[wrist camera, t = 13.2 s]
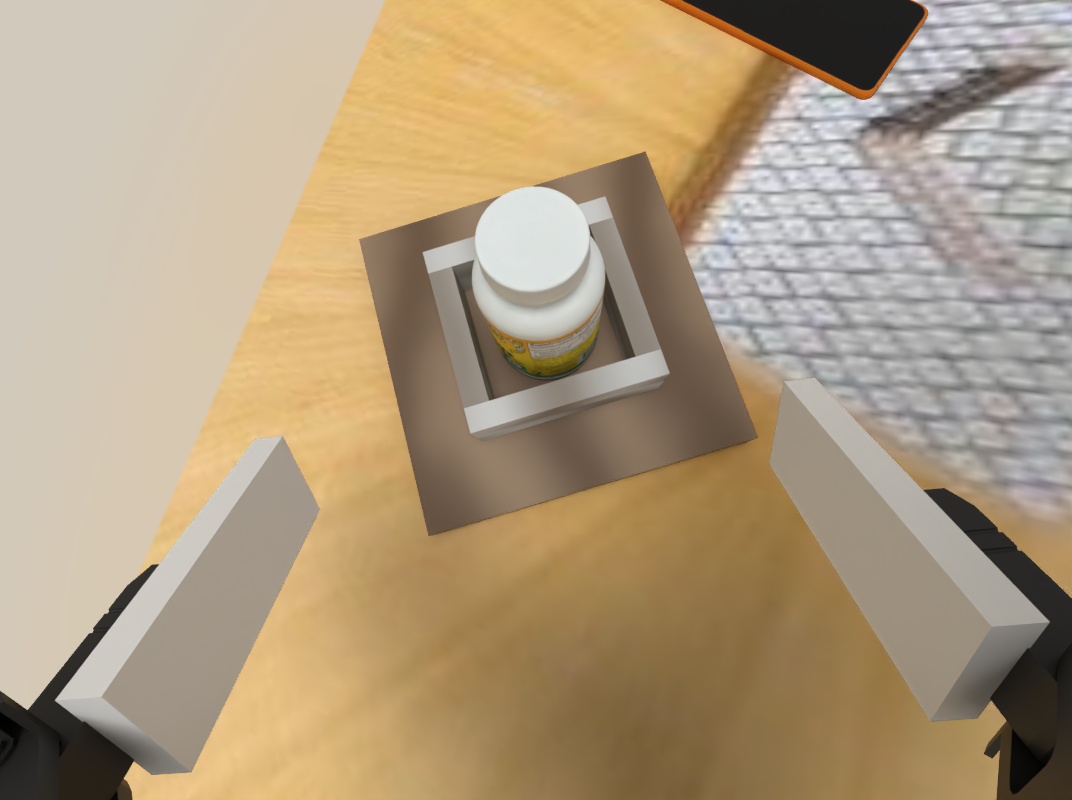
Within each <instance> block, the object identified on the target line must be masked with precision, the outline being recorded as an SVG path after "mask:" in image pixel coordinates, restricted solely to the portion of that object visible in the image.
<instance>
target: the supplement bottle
mask: <svg viewBox="0 0 1072 800" xmlns="http://www.w3.org/2000/svg"><path fill="white" fill-rule="evenodd" d="M475 251H476V257H475V260H474V263H473V268H472V287H473V293H474V296H475V299H476V302H477V304H478V307H479V309H480V311H481V313H482V315H483V317H484V319H485V321H486V323H487V325H488V327H489V329H490V331H491V333H492V336H493V338H494V339H495V341H496V344H497V346H498V348H499V350H500V352H501V353H502V355H503V356H504V358H505V359H506V360H507V362H508V363H509V364H511V365H512V366H513V367H514V368H516V369H517V370H519V371H520V372H522V373H523V374H525V375H527V376H530V377H533V378H537V379H555V378H560V377H563V376H566V375H568V374H570V373H572V372H574V371H575V370H577V369H578V368H579V367H580V366H582V365H583V364H584V363H585V362H586V360H587V359H588V358H589V356H590V355H591V353H592V351H593V349H594V347H595V344H596V341H597V336H598V331H599V324H600V316H601V309H602V302H603V295H604V288H605V266H604V261H603V257H602V255H601V252H600V250H599V248H598V246H597V244H596V242H595V241H594V239H593V238H592V237H591V236H590V230H589V225H588V222H587V219H586V217H585V215H584V213H583V212H582V210H581V209H580V207H579V206H578V205H577V204H576V203H575V202H574V201H573V200H572V199H571V198H569V197H568V196H566V195H565V194H563V193H561V192H559V191H556V190H554V189H550V188H545V187H535V186H532V187H523V188H519V189H516V190H513V191H510V192H508V193H506V194H504V195H502V196H500V197H499V198H498V199H496V200H495V201H494V202H493V203H491V204H490V205H489V206H488V208H487V209H486V210H485V211H484V213H483V214H482V216H481V218H480V220H479V222H478V225H477V228H476V233H475Z"/></svg>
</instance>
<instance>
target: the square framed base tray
mask: <svg viewBox="0 0 1072 800" xmlns="http://www.w3.org/2000/svg"><path fill="white" fill-rule="evenodd" d="M535 187H545V188H550V189H554V190H556V191H559V192H561V193H563V194H565V195H566V196H568V197H569V198H571V199H572V200H573V201H574V202H575V203H576V204H577V205H578V206H579V207H580V209H581V210H582V212H583V213H584V215H585V217H586V219H587V222H588V225H589V230H590V236H591V237H592V238H593V239H594V241H595V242H596V244H597V246H598V248H599V250H600V252H601V255H602V257H603V261H604V266H605V288H604V295H603V302H602V309H601V316H600V324H599V331H598V336H597V341H596V344H595V347H594V349H593V351H592V353H591V355H590V356H589V358H588V359H587V360H586V362H585V363H584V364H583V365H582V366H580V367H579V368H578V369H577V370H575V371H574V372H572V373H570V374H568V375H566V376H563V377H560V378H555V379H537V378H533V377H530V376H527V375H525V374H523V373H522V372H520V371H519V370H517V369H516V368H514V367H513V366H512V365H511V364H509V363H508V362H507V360H506V359H505V358H504V356H503V355H502V353H501V352H500V350H499V348H498V346H497V344H496V341H495V339H494V338H493V336H492V333H491V331H490V329H489V327H488V325H487V323H486V321H485V319H484V317H483V315H482V313H481V311H480V309H479V307H478V304H477V302H476V299H475V296H474V293H473V287H472V268H473V263H474V260H475V257H476V251H475V233H476V228H477V225H478V222H479V220H480V218H481V216H482V214H483V213H484V211H485V210H486V209H487V208H488V206H489V205H490V204H491V203H493V202H494V201H495V200H496V199H498V198H499V197H500V196H499V197H496V198H493V199H489V200H486V201H483V202H480V203H476V204H473V205H470V206H467V207H463V208H460V209H457V210H454V211H450V212H447V213H444V214H440V215H437V216H434V217H431V218H427V219H424V220H421V221H418V222H414V223H411V224H408V225H405V226H401V227H398V228H395V229H392V230H388V231H385V232H382V233H378V234H375V235H372V236H369V237H365V238H362V239H359V240H360V245H361V249H362V253H363V257H364V262H365V266H366V270H367V274H368V279H369V283H370V287H371V291H372V296H373V300H374V304H375V309H376V313H377V317H378V321H379V326H380V330H381V334H382V338H383V343H384V347H385V351H386V355H387V360H388V364H389V368H390V373H391V377H392V381H393V385H394V390H395V394H396V398H397V402H398V407H399V411H400V415H401V419H402V424H403V428H404V432H405V436H406V441H407V445H408V449H409V454H410V458H411V462H412V466H413V471H414V475H415V479H416V483H417V488H418V492H419V496H420V500H421V505H422V509H423V513H424V518H425V522H426V526H427V530H428V535H429V536H431V535H435V534H438V533H442V532H445V531H448V530H452V529H455V528H458V527H462V526H465V525H468V524H472V523H475V522H478V521H482V520H485V519H488V518H492V517H495V516H499V515H502V514H505V513H509V512H512V511H515V510H519V509H522V508H525V507H529V506H532V505H535V504H539V503H542V502H545V501H549V500H552V499H555V498H559V497H562V496H566V495H569V494H572V493H576V492H579V491H582V490H586V489H589V488H592V487H596V486H599V485H602V484H606V483H609V482H612V481H616V480H619V479H623V478H626V477H629V476H633V475H636V474H639V473H643V472H646V471H649V470H653V469H656V468H659V467H663V466H666V465H669V464H673V463H676V462H679V461H683V460H686V459H690V458H693V457H696V456H700V455H703V454H706V453H710V452H713V451H716V450H720V449H723V448H726V447H730V446H733V445H736V444H740V443H743V442H746V441H750V440H753V439H756V438H758V437H757V434H756V432H755V429H754V426H753V424H752V421H751V419H750V416H749V414H748V411H747V409H746V406H745V404H744V401H743V398H742V396H741V393H740V391H739V388H738V386H737V383H736V381H735V378H734V376H733V373H732V371H731V368H730V365H729V363H728V360H727V358H726V355H725V353H724V350H723V348H722V345H721V343H720V340H719V337H718V335H717V332H716V330H715V327H714V325H713V322H712V320H711V317H710V315H709V312H708V309H707V307H706V304H705V302H704V299H703V297H702V294H701V292H700V289H699V287H698V284H697V282H696V279H695V276H694V274H693V271H692V269H691V266H690V264H689V261H688V259H687V256H686V254H685V251H684V248H683V246H682V243H681V241H680V238H679V236H678V233H677V231H676V228H675V226H674V223H673V220H672V218H671V215H670V213H669V210H668V208H667V205H666V203H665V200H664V198H663V195H662V193H661V190H660V187H659V185H658V182H657V180H656V177H655V175H654V172H653V170H652V167H651V165H650V162H649V159H648V157H647V154H646V152H643V153H640V154H636V155H633V156H630V157H627V158H623V159H620V160H617V161H613V162H610V163H607V164H604V165H600V166H597V167H594V168H591V169H587V170H584V171H581V172H578V173H574V174H571V175H568V176H565V177H561V178H558V179H555V180H551V181H548V182H545V183H542V184H538V185H535Z"/></svg>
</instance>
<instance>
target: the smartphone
mask: <svg viewBox="0 0 1072 800" xmlns="http://www.w3.org/2000/svg"><path fill="white" fill-rule="evenodd" d="M661 1H663V2H665V3H667V4H669V5H671V6H673V7H675V8H677V9H679V10H681V11H683V12H685V13H687V14H689V15H691V16H694V17H696V18H698V19H700V20H702V21H704V22H706V23H708V24H710V25H712V26H714V27H716V28H718V29H720V30H722V31H724V32H726V33H728V34H730V35H732V36H734V37H736V38H738V39H740V40H742V41H744V42H746V43H748V44H750V45H752V46H754V47H756V48H758V49H760V50H762V51H764V52H766V53H768V54H770V55H772V56H774V57H776V58H778V59H780V60H782V61H784V62H786V63H788V64H790V65H792V66H794V67H796V68H798V69H800V70H802V71H804V72H806V73H808V74H810V75H812V76H814V77H816V78H818V79H820V80H822V81H824V82H826V83H828V84H830V85H832V86H834V87H836V88H838V89H840V90H842V91H844V92H846V93H848V94H850V95H852V96H854V97H856V98H858V99H862V100H865V99H869V98H871V97H872V96H873V95H874V93H875V92H876V91H877V89H878V88H879V86H880V85H881V83H882V82H883V81H884V79H885V78H886V76H887V75H888V73H889V72H890V70H891V69H892V68H893V66H894V65H895V63H896V62H897V60H898V59H899V57H900V56H901V54H902V53H903V51H904V50H905V49H906V47H907V46H908V45H909V43H910V42H911V40H912V39H913V37H914V36H915V34H916V33H917V32H918V30H919V29H920V27H921V26H922V24H923V23H924V21H925V20H926V18H927V16H928V10H927V9H926V8H925V7H924V6H923V5H921V4H919V3H917V2H915V1H913V0H661Z"/></svg>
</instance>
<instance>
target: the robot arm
mask: <svg viewBox="0 0 1072 800" xmlns="http://www.w3.org/2000/svg"><path fill="white" fill-rule="evenodd" d="M769 465H770V467H771V468H772V470H773V471H774V473H775V475H776V476H777V478H778V479H779V481H780V483H781V484H782V486H783V487H784V489H785V491H786V492H787V494H788V495H789V497H790V499H791V500H792V502H793V503H794V505H795V507H796V508H797V510H798V511H799V513H800V515H801V516H802V518H803V519H804V521H805V523H806V524H807V526H808V527H809V529H810V531H811V532H812V534H813V535H814V537H815V539H816V540H817V542H818V543H819V545H820V547H821V548H822V550H823V551H824V553H825V555H826V556H827V558H828V559H829V561H830V563H831V564H832V566H833V567H834V569H835V571H836V572H837V574H838V575H839V577H840V579H841V580H842V582H843V583H844V585H845V587H846V588H847V590H848V591H849V593H850V595H851V596H852V598H853V599H854V601H855V603H856V604H857V606H858V607H859V609H860V611H861V612H862V614H863V615H864V617H865V619H866V620H867V622H868V623H869V625H870V626H871V628H872V630H873V631H874V633H875V634H876V636H877V638H878V639H879V641H880V642H881V644H882V646H883V647H884V649H885V650H886V652H887V654H888V655H889V657H890V658H891V660H892V662H893V663H894V665H895V666H896V668H897V670H898V671H899V673H900V674H901V676H902V678H903V679H904V681H905V682H906V684H907V686H908V687H909V689H910V690H911V692H912V694H913V695H914V697H915V698H916V700H917V702H918V703H919V705H920V706H921V708H922V710H923V711H924V713H925V714H926V716H927V718H928V719H929V721H930V722H931V721H945V720H960V719H974V718H978V717H979V715H980V714H981V713H982V711H983V710H984V709H985V707H986V706H987V705H988V703H989V702H990V701H991V700H992V702H993V703H994V704H995V706H996V707H997V708H998V710H999V711H1000V712H1001V714H1002V715H1003V716H1004V718H1005V719H1006V720H1007V721H1006V722H1005V724H1004V725H1003V726H1002V727H1001V728H1000V730H999V731H998V732H997V733H996V734H995V736H994V737H993V738H992V739H991V741H990V742H989V743H988V745H987V747H986V750H985V752H984V754H985V755H987V756H989V757H991V758H993V757H994V756H995V755H996V754H997V752H998V751H999V750H1000V758H999V773H998V787H997V800H1072V598H1071V597H1070V596H1069V595H1068V594H1066V593H1065V592H1064V591H1063V590H1062V589H1061V588H1060V587H1059V586H1058V585H1057V584H1056V583H1055V582H1054V581H1053V580H1052V579H1051V578H1050V577H1049V576H1048V575H1047V574H1045V573H1044V572H1043V571H1042V570H1041V569H1040V568H1039V567H1038V566H1037V565H1036V564H1035V563H1034V562H1033V561H1032V560H1031V559H1030V558H1029V557H1028V556H1027V555H1026V554H1025V553H1023V552H1022V551H1018V550H1017V546H1016V545H1015V544H1014V543H1013V542H1012V541H1011V540H1010V539H1009V538H1008V537H1007V536H1006V535H1005V534H1004V533H1003V532H998V530H997V529H998V528H997V527H996V526H995V525H994V524H993V523H992V522H991V521H990V520H989V519H988V518H987V517H986V516H985V515H984V514H983V513H982V512H980V511H979V510H978V509H977V508H976V507H975V506H974V505H972V504H970V503H969V502H967V501H965V500H964V499H962V498H960V497H958V496H957V495H955V494H953V493H952V492H950V491H948V490H946V489H945V488H942V489H931V490H922V489H921V488H920V487H919V485H918V484H917V483H916V482H915V481H914V480H913V479H912V478H911V477H910V476H909V475H908V474H907V473H906V472H905V471H904V470H903V469H902V468H901V467H900V466H899V465H898V464H897V463H896V462H895V461H894V460H893V458H892V457H891V456H890V455H889V454H888V453H887V452H886V451H885V450H884V449H883V448H882V447H881V446H880V445H879V444H878V443H877V442H876V441H875V440H874V439H873V438H872V437H871V436H870V435H869V434H868V432H867V431H866V430H865V429H864V428H863V427H862V426H861V425H860V424H859V423H858V422H857V421H856V420H855V419H854V418H853V417H852V416H851V415H850V414H849V413H848V412H847V411H846V410H845V409H844V408H843V407H842V405H841V404H840V403H839V402H838V401H837V400H836V399H835V398H834V397H833V396H832V395H831V394H830V393H829V392H828V391H827V390H826V389H825V388H824V387H823V386H822V385H821V384H820V383H819V382H818V381H817V380H816V378H810V379H801V380H792V381H784V383H783V389H782V395H781V400H780V406H779V412H778V417H777V423H776V429H775V434H774V440H773V446H772V451H771V457H770V463H769ZM319 510H320V508H319V506H318V504H317V502H316V500H315V498H314V496H313V494H312V492H311V490H310V489H309V487H308V485H307V483H306V481H305V479H304V477H303V475H302V473H301V471H300V469H299V467H298V465H297V463H296V461H295V459H294V457H293V455H292V453H291V451H290V449H289V447H288V445H287V443H286V441H285V439H284V437H283V436H279V437H270V438H260V439H255V440H254V442H253V443H252V444H251V445H250V447H249V448H248V449H247V451H246V452H245V453H244V455H243V456H242V457H241V458H240V460H239V461H238V462H237V464H236V465H235V466H234V468H233V469H232V470H231V471H230V473H229V474H228V475H227V477H226V478H225V479H224V481H223V482H222V483H221V485H220V486H219V487H218V488H217V490H216V491H215V492H214V494H213V495H212V496H211V498H210V499H209V500H208V501H207V503H206V504H205V505H204V507H203V508H202V509H201V511H200V512H199V513H198V515H197V516H196V517H195V518H194V520H193V521H192V522H191V524H190V525H189V526H188V528H187V529H186V530H185V531H184V533H183V534H182V535H181V537H180V538H179V539H178V541H177V542H176V543H175V544H174V546H173V547H172V548H171V550H170V551H169V552H168V554H167V555H166V556H165V558H164V559H163V560H162V561H161V563H160V564H156V565H151V566H150V567H149V568H148V569H147V570H145V571H144V572H143V573H142V574H141V575H139V576H138V577H137V578H136V579H135V580H133V581H132V582H131V583H130V584H129V585H128V586H127V587H126V588H125V589H124V591H123V592H122V593H121V594H120V595H119V597H118V598H117V599H116V600H115V602H114V603H113V604H112V605H111V607H110V608H109V612H108V614H104V615H103V617H102V618H101V619H100V621H99V622H98V623H97V624H96V626H95V627H94V628H93V629H94V631H93V633H89V634H88V636H87V637H86V638H85V639H84V641H83V642H82V643H81V644H80V646H79V647H78V648H77V649H76V651H75V652H74V653H73V654H72V656H71V657H70V658H69V659H68V661H67V662H66V663H65V664H64V666H63V667H62V668H61V670H60V671H59V672H58V673H57V674H56V676H55V677H54V678H53V679H52V681H51V682H50V683H49V684H48V686H47V687H46V688H45V689H44V691H43V692H42V693H41V694H40V696H39V697H38V698H37V699H36V701H35V702H34V703H33V704H32V706H31V707H30V708H29V709H28V710H26V709H25V708H23V707H22V706H21V705H19V704H18V703H16V702H15V701H14V700H12V699H11V698H9V697H8V696H7V695H5V694H4V693H2V692H1V691H0V800H132V791H131V789H130V787H129V784H128V782H127V781H126V780H124V777H125V775H126V774H127V772H128V770H129V768H130V767H131V765H132V763H133V762H136V763H137V764H138V765H140V766H141V767H142V768H144V769H145V770H146V771H148V772H149V773H150V774H151V775H158V774H172V773H187V772H192V770H193V768H194V766H195V764H196V762H197V759H198V757H199V755H200V753H201V751H202V749H203V747H204V745H205V743H206V741H207V739H208V737H209V735H210V733H211V731H212V729H213V727H214V725H215V723H216V721H217V719H218V717H219V715H220V713H221V710H222V708H223V706H224V704H225V702H226V700H227V698H228V696H229V694H230V692H231V690H232V688H233V686H234V684H235V682H236V680H237V678H238V676H239V674H240V672H241V670H242V668H243V666H244V664H245V662H246V659H247V657H248V655H249V653H250V651H251V649H252V647H253V645H254V643H255V641H256V639H257V637H258V635H259V633H260V631H261V629H262V627H263V625H264V623H265V621H266V619H267V617H268V615H269V613H270V610H271V608H272V606H273V604H274V602H275V600H276V598H277V596H278V594H279V592H280V590H281V588H282V586H283V584H284V582H285V580H286V578H287V576H288V574H289V572H290V570H291V568H292V566H293V564H294V562H295V559H296V557H297V555H298V553H299V551H300V549H301V547H302V545H303V543H304V541H305V539H306V537H307V535H308V533H309V531H310V529H311V527H312V525H313V523H314V521H315V519H316V517H317V515H318V513H319Z"/></svg>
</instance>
